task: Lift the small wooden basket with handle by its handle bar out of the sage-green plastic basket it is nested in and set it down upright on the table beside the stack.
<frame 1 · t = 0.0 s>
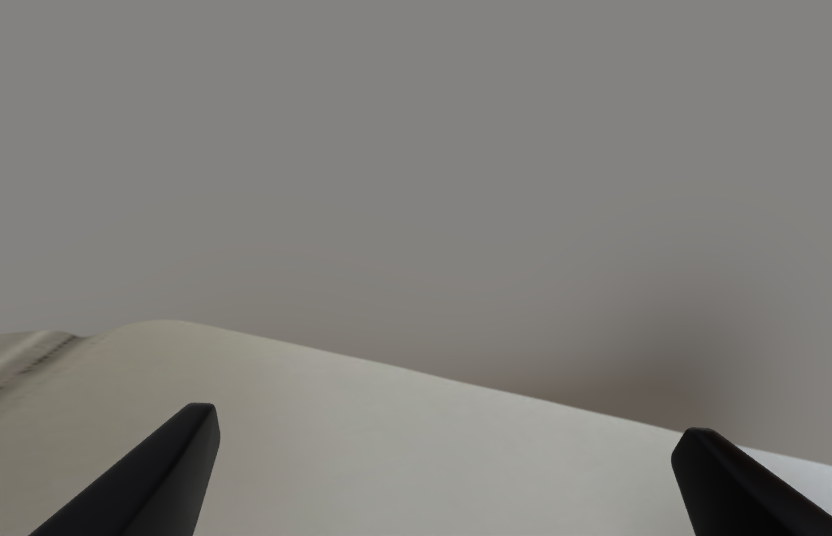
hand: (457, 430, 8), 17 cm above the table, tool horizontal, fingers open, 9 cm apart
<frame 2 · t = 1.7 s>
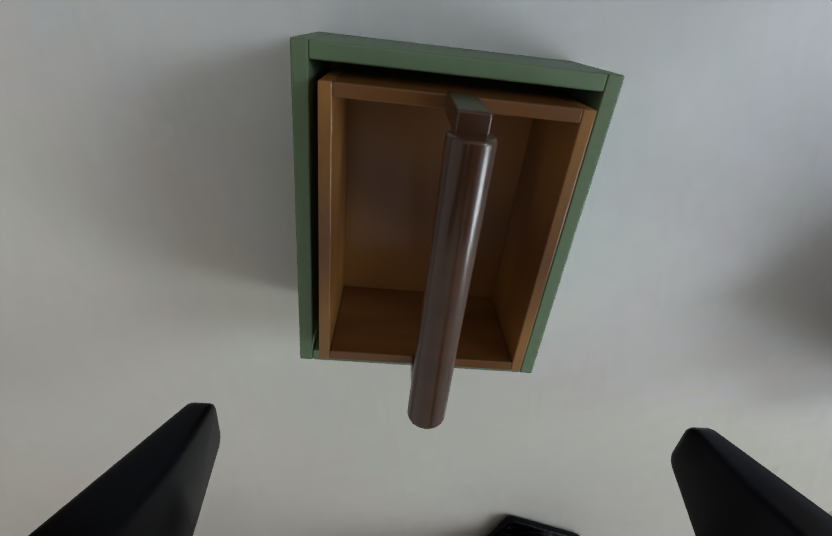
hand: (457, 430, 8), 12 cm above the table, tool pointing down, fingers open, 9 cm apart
green basket: (429, 194, 19), on the table, touching wooden basket with handle
wooden basket with handle: (429, 198, 19), resting on green basket
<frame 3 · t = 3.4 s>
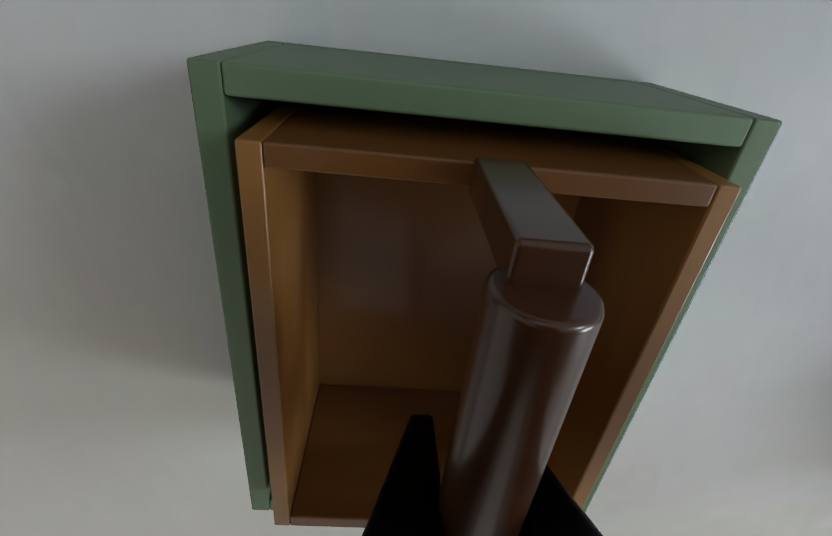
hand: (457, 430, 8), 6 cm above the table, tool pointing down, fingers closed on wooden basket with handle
green basket: (435, 265, 14), on the table, touching wooden basket with handle
wooden basket with handle: (436, 272, 13), resting on green basket, touching gripper
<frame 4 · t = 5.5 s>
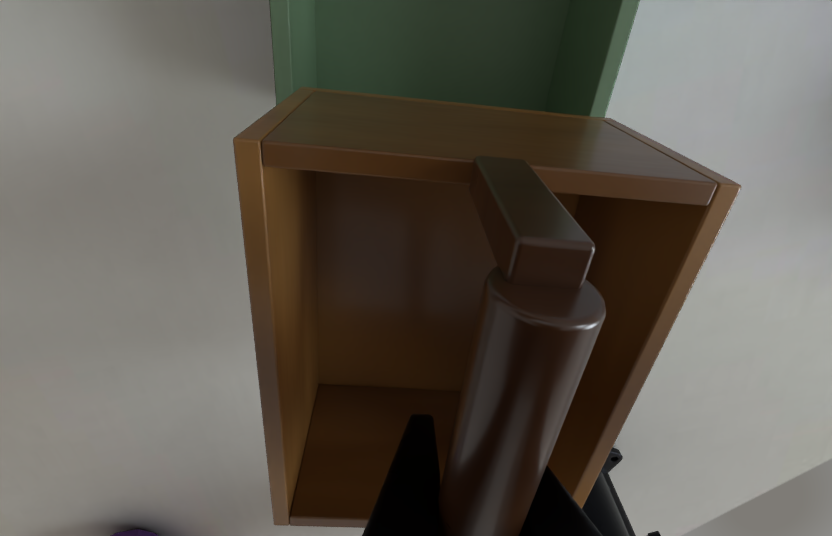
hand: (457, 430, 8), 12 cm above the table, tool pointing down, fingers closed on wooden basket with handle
wooden basket with handle: (435, 271, 13), point 6 cm above the table, touching gripper
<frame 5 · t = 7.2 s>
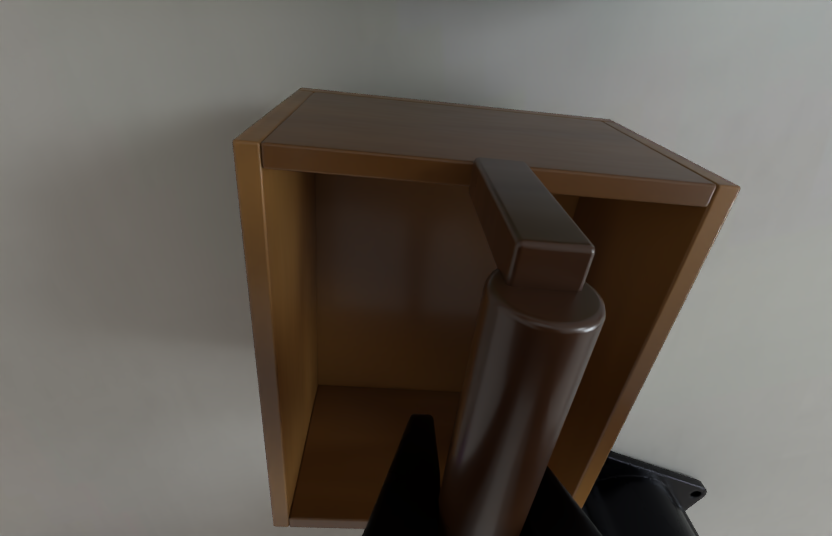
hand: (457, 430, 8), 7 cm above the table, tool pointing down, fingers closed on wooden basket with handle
wooden basket with handle: (435, 272, 13), point 1 cm above the table, touching gripper
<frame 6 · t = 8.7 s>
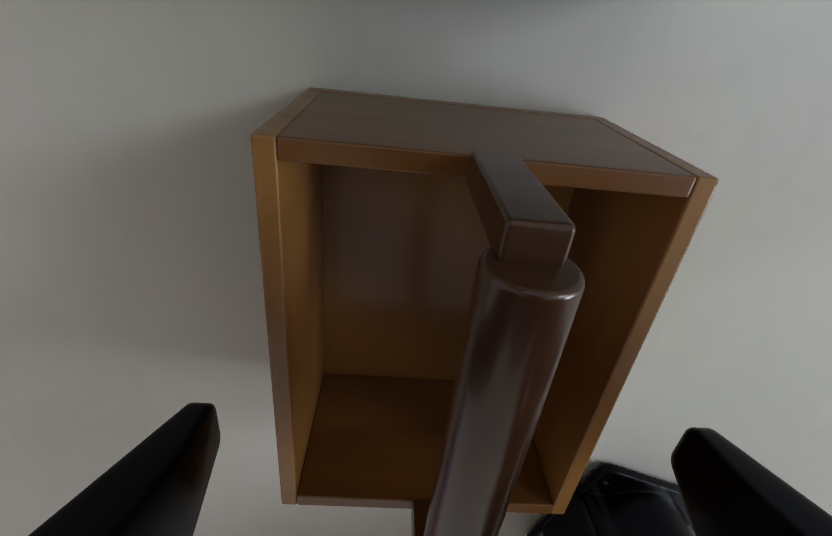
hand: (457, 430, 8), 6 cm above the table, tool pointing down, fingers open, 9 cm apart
wooden basket with handle: (436, 264, 14), on the table
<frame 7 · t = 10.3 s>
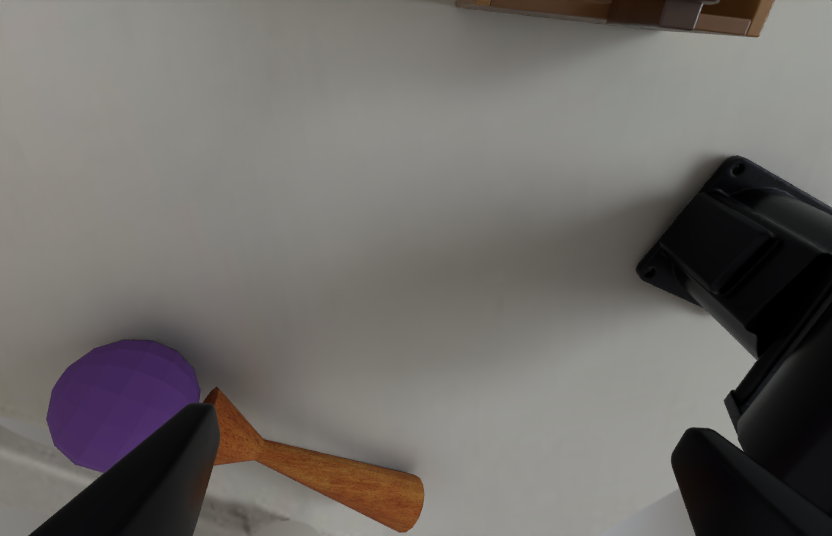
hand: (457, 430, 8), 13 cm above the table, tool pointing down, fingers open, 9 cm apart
kendama: (276, 413, 26), on the table
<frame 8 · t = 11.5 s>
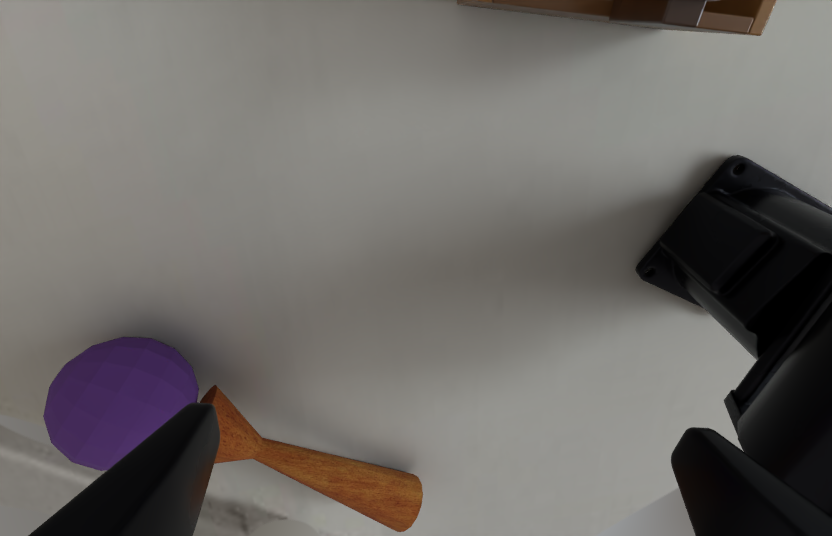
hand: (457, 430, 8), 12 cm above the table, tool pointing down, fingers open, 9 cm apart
kendama: (274, 411, 26), on the table
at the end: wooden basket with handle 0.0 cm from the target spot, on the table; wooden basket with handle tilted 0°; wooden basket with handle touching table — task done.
